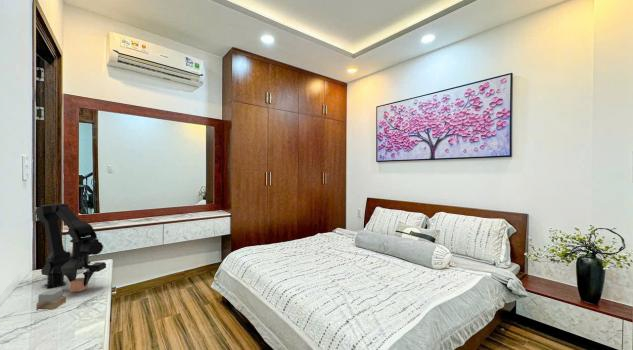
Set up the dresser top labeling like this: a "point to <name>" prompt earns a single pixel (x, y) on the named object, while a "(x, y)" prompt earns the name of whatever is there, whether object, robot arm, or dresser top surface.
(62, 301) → the walnut base block
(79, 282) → the terracotta cube
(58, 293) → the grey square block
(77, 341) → the dresser top surface
